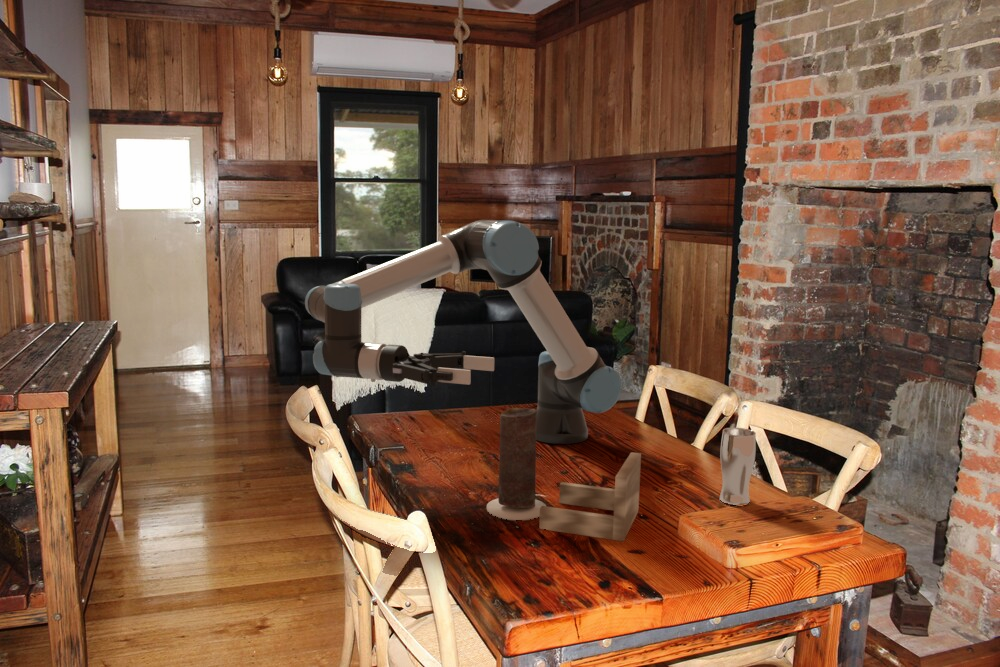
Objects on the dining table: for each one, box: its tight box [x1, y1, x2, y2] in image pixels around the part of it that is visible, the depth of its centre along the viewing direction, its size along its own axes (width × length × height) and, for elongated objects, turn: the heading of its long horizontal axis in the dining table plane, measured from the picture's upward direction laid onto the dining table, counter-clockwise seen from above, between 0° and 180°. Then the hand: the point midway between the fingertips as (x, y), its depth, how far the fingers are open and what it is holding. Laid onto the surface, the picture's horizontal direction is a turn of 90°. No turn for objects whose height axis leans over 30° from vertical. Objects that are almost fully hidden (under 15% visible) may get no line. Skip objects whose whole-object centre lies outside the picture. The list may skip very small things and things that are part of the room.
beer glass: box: [719, 427, 757, 505], centre depth 172 cm, size 7×7×15 cm
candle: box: [498, 407, 537, 508], centre depth 164 cm, size 8×7×20 cm
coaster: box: [486, 497, 547, 521], centre depth 166 cm, size 12×12×1 cm
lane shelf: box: [538, 451, 642, 542], centre depth 160 cm, size 16×16×12 cm
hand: (482, 370), depth 164 cm, fingers open, 13 cm apart
